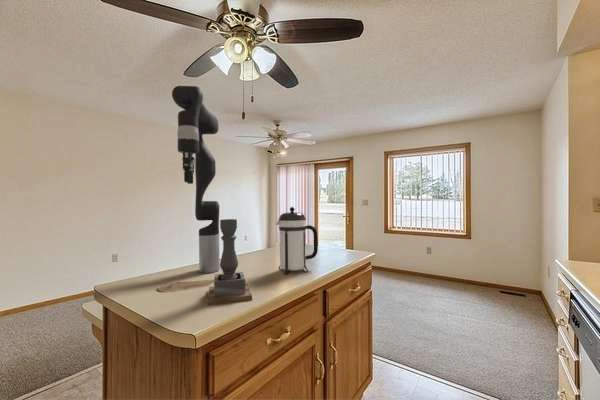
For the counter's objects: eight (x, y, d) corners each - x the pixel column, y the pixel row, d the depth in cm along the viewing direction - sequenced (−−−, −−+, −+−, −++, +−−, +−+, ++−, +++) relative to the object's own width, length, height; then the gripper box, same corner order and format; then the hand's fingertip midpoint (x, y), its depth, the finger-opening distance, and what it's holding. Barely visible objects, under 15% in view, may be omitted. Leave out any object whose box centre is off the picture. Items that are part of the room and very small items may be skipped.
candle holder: (216, 292, 95) (215, 220, 95) (228, 287, 101) (228, 218, 101) (230, 294, 92) (229, 220, 92) (242, 289, 98) (241, 219, 98)
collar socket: (209, 291, 101) (209, 273, 101) (247, 287, 105) (247, 270, 105) (207, 304, 88) (207, 284, 88) (252, 299, 92) (251, 280, 92)
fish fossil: (221, 277, 121) (221, 275, 121) (229, 285, 112) (230, 282, 112) (155, 287, 106) (155, 284, 106) (159, 297, 98) (159, 293, 98)
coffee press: (300, 277, 118) (299, 207, 119) (270, 272, 126) (269, 207, 127) (318, 268, 133) (317, 206, 134) (290, 264, 142) (289, 206, 142)
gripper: (180, 143, 109) (180, 184, 109) (174, 134, 95) (175, 181, 95) (200, 144, 111) (200, 184, 111) (197, 136, 97) (198, 181, 97)
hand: (188, 182), depth 103 cm, fingers open, 8 cm apart
